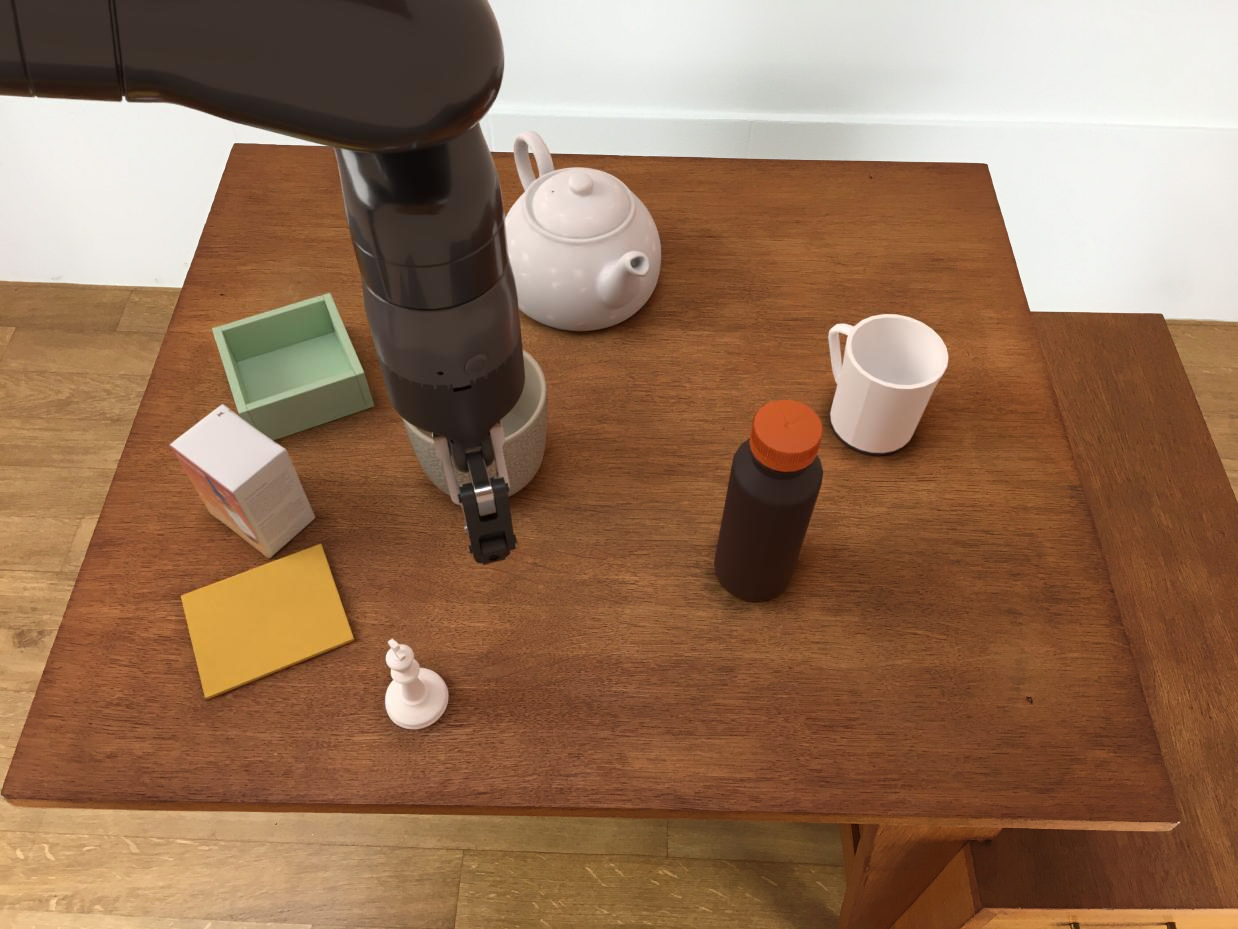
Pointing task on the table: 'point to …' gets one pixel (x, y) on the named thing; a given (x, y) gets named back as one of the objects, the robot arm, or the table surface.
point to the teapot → (578, 244)
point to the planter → (520, 433)
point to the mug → (883, 380)
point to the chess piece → (413, 690)
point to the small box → (244, 480)
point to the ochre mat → (265, 620)
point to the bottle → (769, 501)
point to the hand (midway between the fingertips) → (478, 501)
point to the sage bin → (293, 367)
